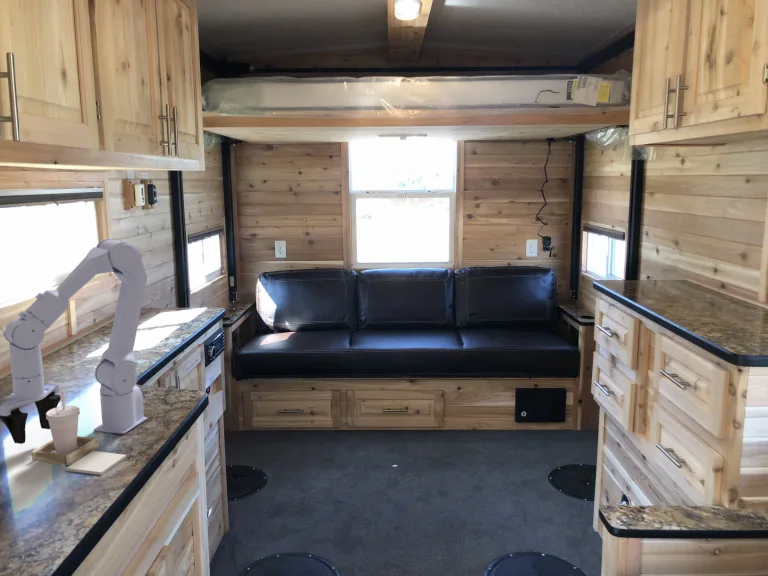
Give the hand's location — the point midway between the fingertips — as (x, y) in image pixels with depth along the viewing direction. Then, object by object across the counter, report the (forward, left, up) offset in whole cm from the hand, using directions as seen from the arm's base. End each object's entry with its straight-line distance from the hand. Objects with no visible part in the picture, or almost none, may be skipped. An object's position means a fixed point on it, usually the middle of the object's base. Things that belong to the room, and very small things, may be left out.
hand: (33, 435), depth 133 cm
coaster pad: (+3, +17, -3) cm, 18 cm away
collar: (0, +8, -3) cm, 9 cm away
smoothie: (0, +8, -4) cm, 9 cm away
